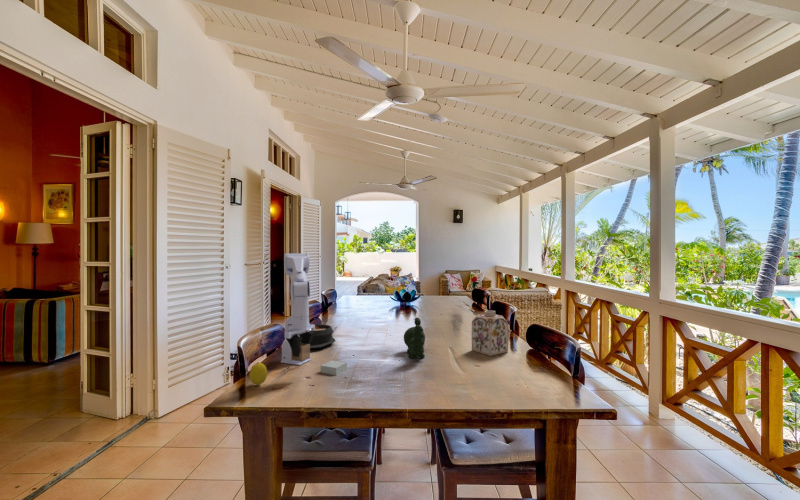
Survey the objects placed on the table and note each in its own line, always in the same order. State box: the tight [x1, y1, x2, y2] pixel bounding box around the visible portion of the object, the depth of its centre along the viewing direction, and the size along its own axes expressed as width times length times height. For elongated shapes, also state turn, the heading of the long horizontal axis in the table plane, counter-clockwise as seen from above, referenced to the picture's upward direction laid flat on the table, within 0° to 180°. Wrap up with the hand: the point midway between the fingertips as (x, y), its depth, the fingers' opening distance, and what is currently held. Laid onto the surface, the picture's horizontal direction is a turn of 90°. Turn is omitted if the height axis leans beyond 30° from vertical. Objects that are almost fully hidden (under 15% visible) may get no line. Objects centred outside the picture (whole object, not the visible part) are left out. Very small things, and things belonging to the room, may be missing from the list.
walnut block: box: [291, 343, 311, 362], centre depth 137 cm, size 4×4×5 cm
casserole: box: [310, 323, 336, 349], centre depth 184 cm, size 25×19×8 cm
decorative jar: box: [471, 309, 509, 357], centre depth 173 cm, size 12×12×18 cm
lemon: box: [249, 361, 268, 387], centre depth 131 cm, size 6×6×8 cm
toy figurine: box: [403, 317, 426, 360], centre depth 167 cm, size 9×19×25 cm
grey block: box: [320, 359, 348, 376], centre depth 146 cm, size 7×7×3 cm
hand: (300, 354), depth 137 cm, fingers closed on walnut block, 4 cm apart
